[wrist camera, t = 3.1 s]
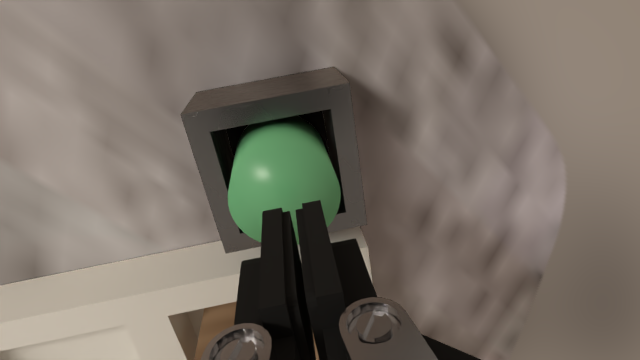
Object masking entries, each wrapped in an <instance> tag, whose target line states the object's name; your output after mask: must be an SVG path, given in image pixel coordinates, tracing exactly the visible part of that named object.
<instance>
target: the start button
mask: <svg viewBox="0 0 640 360" xmlns="http://www.w3.org/2000/svg"><path fill="white" fill-rule="evenodd" d="M340 197H341V193H340V185H339V181H338V179H337V176H336V174H335V171H334V169H333V166H332V164H331V161H330V158H329V156H328V153H327V151H326V148H325V146H324V143H323V141H322V138H321V136H320V134H319V132H318V131H317V130H316V128H315V127H314V126H313V125H312V124H311V123H309V122H308V121H307V120H305V119H303V118H302V117H299V116H297V115H296V116H291V117H286V118H280V119H275V120H270V121H265V122H259V123H254V124H249V125H248V126H247V127H246V128H245V130H244V131H243V132H242V134H241V136H240V137H239V140H238V143H237V147H236V152H235V157H234V162H233V168H232V173H231V178H230V183H229V189H228V206H229V211H230V213H231V216H232V218H233V220H234V221H235V223H236V224H237V226H238V227H239V228H240V229H241V230H242V231H243V232H244V233H245V234H247V235H248V236H249V237H251V238H253V239H254V240H256V241H259V242H261V233H262V212H263V211H266V210H271V209H276V208H282V210H283V212H287V211H290V214H291V218H292V223H293V227H294V232H295V236H296V241H297V244H299V237H298V228H297V219H296V210H297V209H302V203H307V202H312V201H317V200H320V201H321V205H322V209H323V213H324V217H325V221H326V225H327V227H328V226H329V225H330V224H331V222H332V221H333V219H334V218H335V216H336V214H337V211H338V208H339V204H340Z"/></svg>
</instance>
